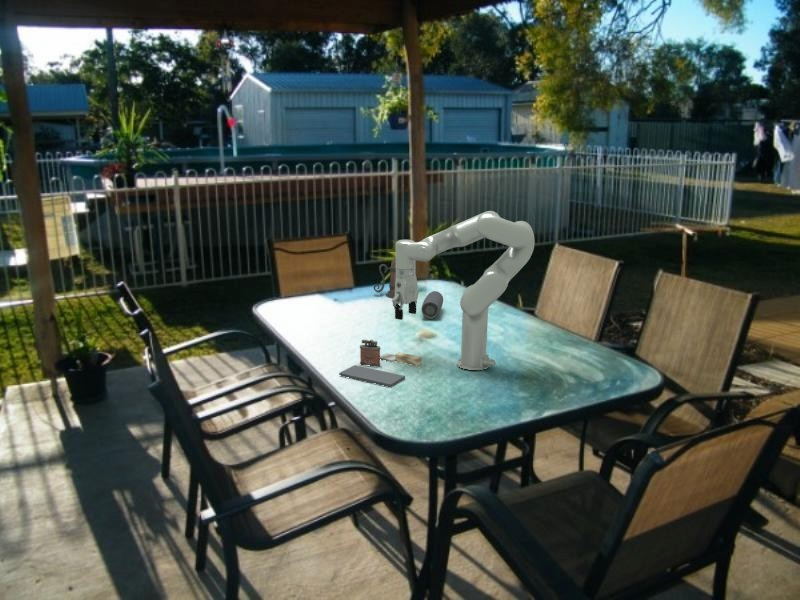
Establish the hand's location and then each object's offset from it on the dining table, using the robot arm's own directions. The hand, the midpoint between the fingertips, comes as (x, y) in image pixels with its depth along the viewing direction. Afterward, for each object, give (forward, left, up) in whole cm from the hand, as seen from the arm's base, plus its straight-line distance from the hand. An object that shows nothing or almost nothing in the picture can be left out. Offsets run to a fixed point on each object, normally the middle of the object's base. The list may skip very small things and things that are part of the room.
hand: (405, 316), depth 257 cm
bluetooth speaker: (+23, -65, -18) cm, 72 cm away
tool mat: (+1, +23, -18) cm, 29 cm away
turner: (+1, +2, -18) cm, 18 cm away
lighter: (+9, +12, -18) cm, 23 cm away
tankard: (+59, -89, -18) cm, 109 cm away
